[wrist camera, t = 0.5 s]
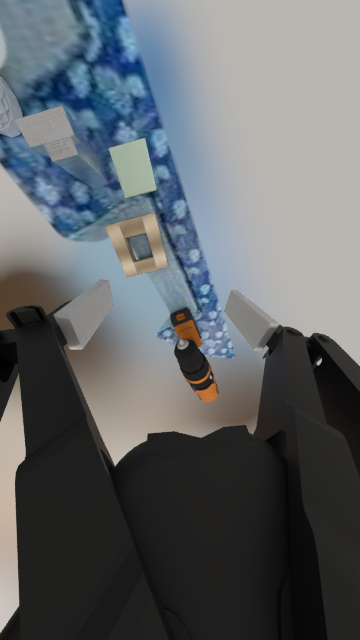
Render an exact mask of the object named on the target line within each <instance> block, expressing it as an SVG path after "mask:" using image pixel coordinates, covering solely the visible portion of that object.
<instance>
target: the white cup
mask: <svg viewBox="0 0 360 640" xmlns="http://www.w3.org/2000/svg"><path fill="white" fill-rule="evenodd" d="M22 117H23V114H22V111H21V108H20V106H19V103H18V101H17V98H16V96H15V95H14V93H13V92H12V90H11V89H10V87H9V86H8V85H7V83H6V82H5V80H4V79H3V78H2V77H1V76H0V134H2V135H5V136H9V137H12V138H13V137H16V136H18V135H20V134H21V131H20V129H19V127H18V125H17V123H16V122H15V120H16V119H19V118H22Z"/></svg>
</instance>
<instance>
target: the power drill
mask: <svg viewBox="0 0 360 640" xmlns="http://www.w3.org/2000/svg"><path fill="white" fill-rule="evenodd" d="M170 316H171V322H172V324H173V327H174V329H175V331H176V333H177V335H178V337H179V341H178V342H177V344H176V346H175V350H174V352H175V353H174V354H175V356H176V358H177V360H178V363H179V365H180V369H181V371H182V373H183V375H184V377H185V379H186V380H187V381H188V383H190V385H191V387H192V388H193V390H194V392H195V393H197V395H198V396H199V397H200V399H201V400H203V401H205V402H212V401H214V400H215V399H216V398H217V396H218V393H219V390H218V386H217V384H216V382H215V379H214V375H213V373H212V371H211V367H210V364H209V363H208V361H207V359H206V357H205V356H204V354H203V353H202V352H201V351H200V349H199V348H198V347H199V346H200V345H202V342H201V340H200V338H201V336H200V334H199V331H198V329H197V326H196V324H195V322H194V319H193V317H192V314H191V312H190V310H188V308H186V309H184V310H181V311H179V312H177V313H174V314H172V315H170Z"/></svg>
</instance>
